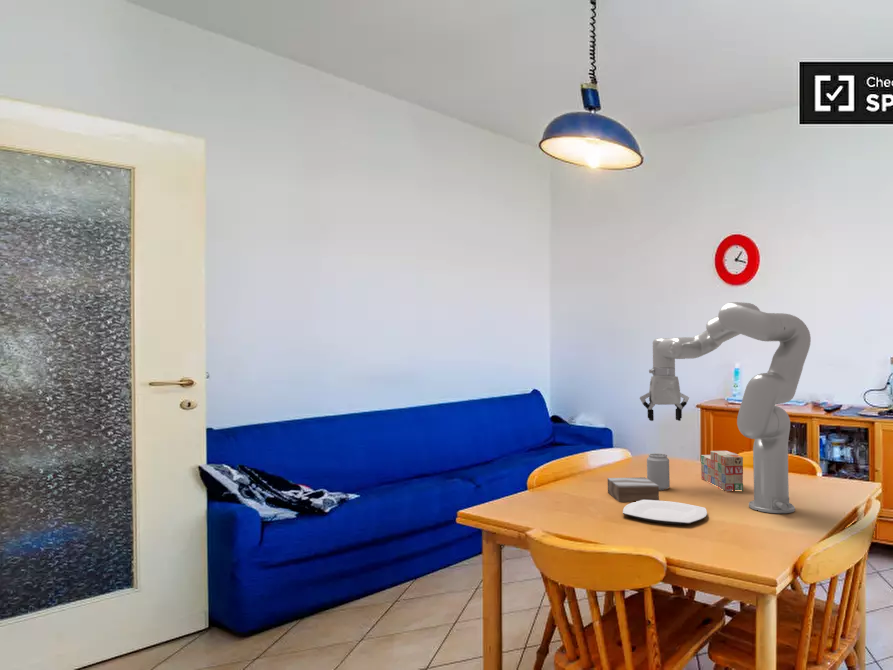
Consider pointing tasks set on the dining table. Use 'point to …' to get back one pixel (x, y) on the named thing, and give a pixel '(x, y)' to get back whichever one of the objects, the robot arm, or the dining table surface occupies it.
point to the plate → (665, 511)
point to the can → (658, 470)
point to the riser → (633, 489)
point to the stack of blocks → (723, 470)
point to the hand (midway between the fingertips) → (664, 420)
